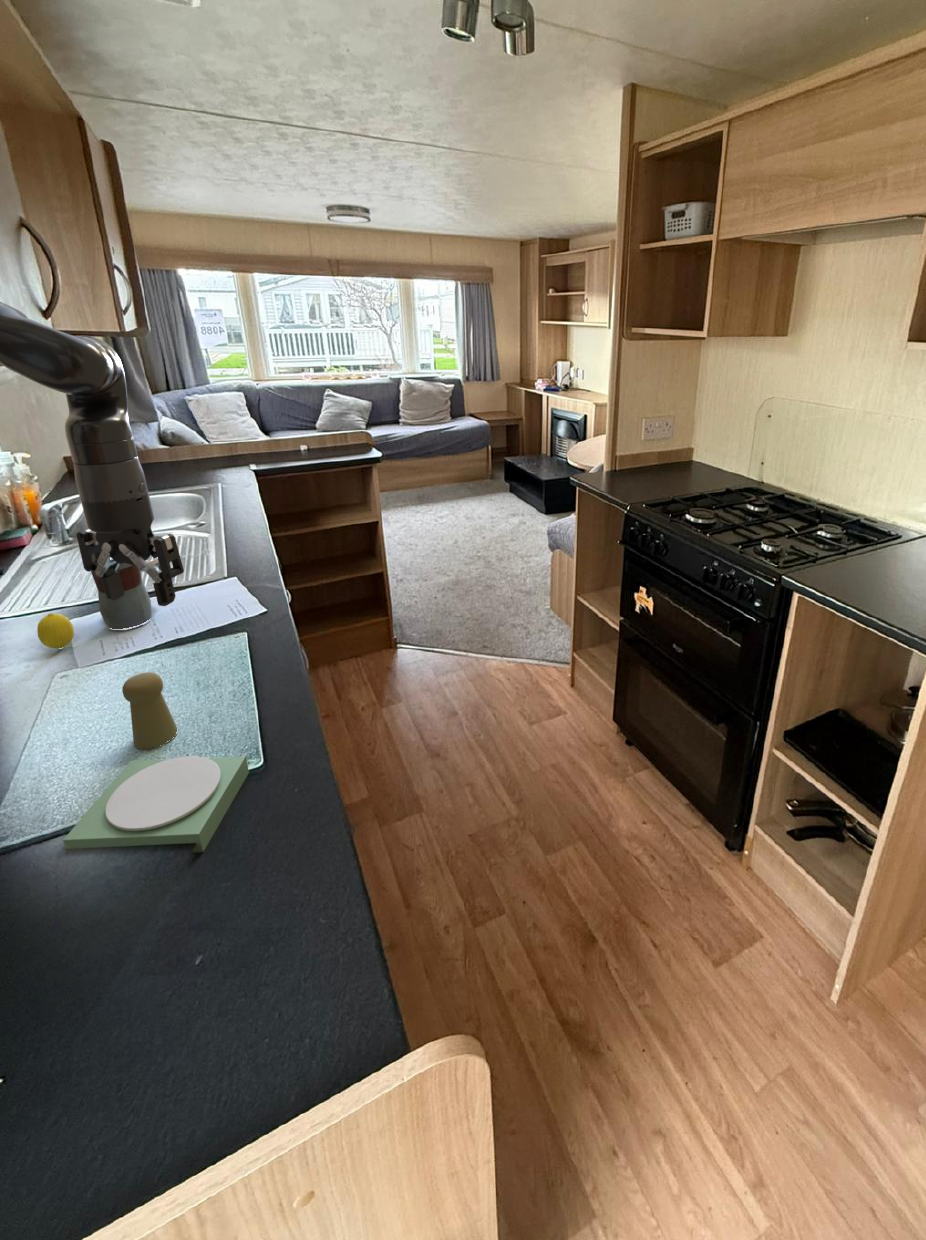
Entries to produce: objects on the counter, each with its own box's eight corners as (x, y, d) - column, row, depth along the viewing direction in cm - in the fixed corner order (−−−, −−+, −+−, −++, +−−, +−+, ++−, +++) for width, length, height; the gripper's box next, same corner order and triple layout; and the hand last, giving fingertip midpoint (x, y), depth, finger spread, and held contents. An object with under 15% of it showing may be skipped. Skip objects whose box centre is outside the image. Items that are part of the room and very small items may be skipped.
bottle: (96, 625, 129) (58, 492, 118) (141, 609, 136) (109, 482, 126) (117, 636, 124) (80, 499, 114) (163, 619, 131) (131, 488, 121)
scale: (66, 858, 73) (58, 835, 71) (134, 777, 86) (127, 755, 84) (203, 852, 74) (197, 829, 72) (249, 772, 87) (245, 751, 85)
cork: (126, 752, 91) (108, 691, 87) (143, 727, 96) (127, 669, 93) (170, 746, 92) (154, 686, 88) (183, 722, 97) (169, 665, 94)
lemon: (42, 648, 119) (31, 613, 117) (76, 639, 123) (66, 604, 120) (45, 659, 116) (33, 622, 113) (80, 649, 119) (69, 614, 116)
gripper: (43, 496, 77) (76, 607, 83) (135, 503, 75) (163, 617, 80) (95, 482, 84) (122, 586, 90) (181, 488, 82) (203, 594, 87)
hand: (141, 600), depth 85 cm, fingers open, 8 cm apart
